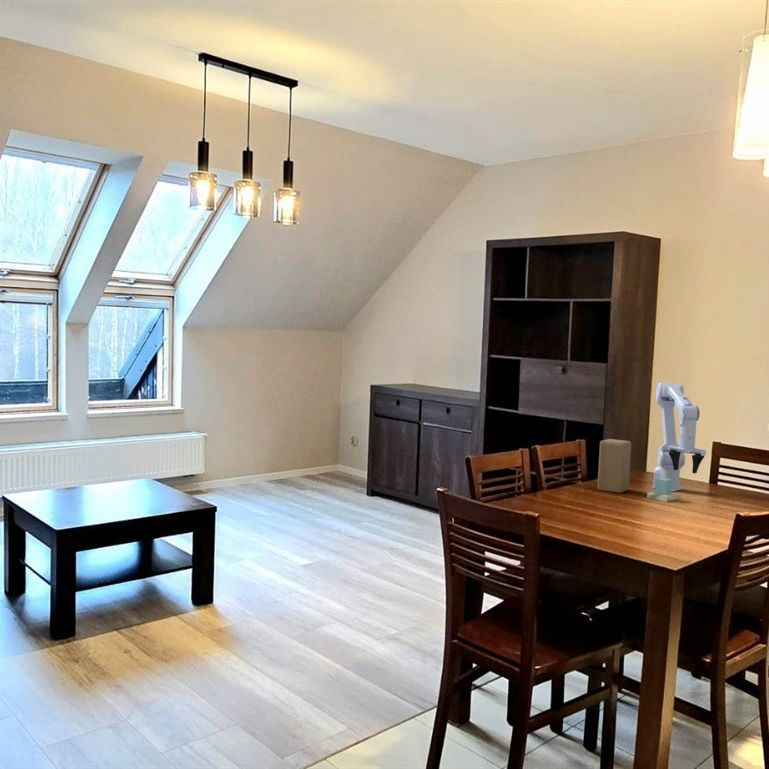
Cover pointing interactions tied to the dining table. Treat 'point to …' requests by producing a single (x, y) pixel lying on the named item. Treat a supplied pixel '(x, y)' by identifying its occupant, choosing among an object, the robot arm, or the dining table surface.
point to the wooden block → (614, 465)
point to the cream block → (662, 496)
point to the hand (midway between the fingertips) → (685, 471)
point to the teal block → (663, 486)
